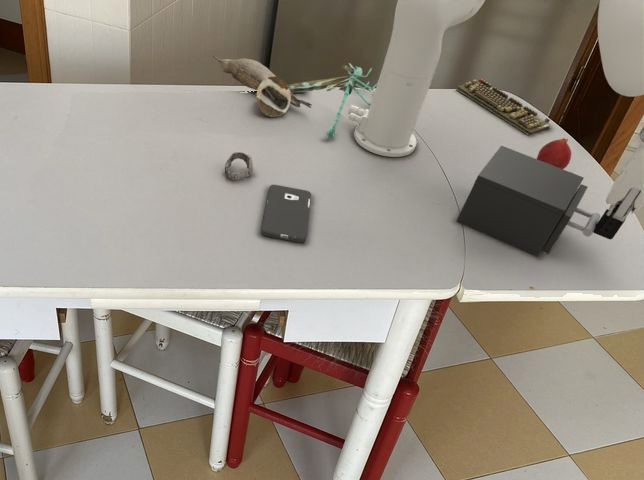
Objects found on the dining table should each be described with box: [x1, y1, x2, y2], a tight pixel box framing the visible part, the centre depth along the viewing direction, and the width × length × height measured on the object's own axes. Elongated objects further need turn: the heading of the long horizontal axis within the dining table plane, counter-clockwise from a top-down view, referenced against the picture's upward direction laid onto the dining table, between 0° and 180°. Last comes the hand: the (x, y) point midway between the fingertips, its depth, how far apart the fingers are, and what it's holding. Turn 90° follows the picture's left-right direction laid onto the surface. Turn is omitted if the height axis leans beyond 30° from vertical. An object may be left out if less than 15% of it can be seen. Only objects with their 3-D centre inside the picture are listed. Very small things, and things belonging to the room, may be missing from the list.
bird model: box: [212, 55, 313, 109], centre depth 149 cm, size 29×6×5 cm, turn 44°
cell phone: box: [260, 184, 312, 244], centre depth 121 cm, size 8×15×1 cm, turn 169°
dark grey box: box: [456, 145, 585, 258], centre depth 121 cm, size 15×13×10 cm
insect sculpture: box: [287, 62, 382, 141], centre depth 148 cm, size 6×20×30 cm
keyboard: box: [455, 78, 551, 136], centre depth 154 cm, size 22×9×2 cm, turn 30°
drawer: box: [541, 183, 601, 255], centre depth 120 cm, size 18×12×8 cm, turn 54°
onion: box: [536, 137, 572, 170], centre depth 134 cm, size 6×6×8 cm
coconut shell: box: [254, 76, 291, 118], centre depth 144 cm, size 8×8×6 cm
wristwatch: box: [224, 151, 254, 181], centre depth 127 cm, size 4×6×5 cm
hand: (602, 233), depth 116 cm, fingers closed
